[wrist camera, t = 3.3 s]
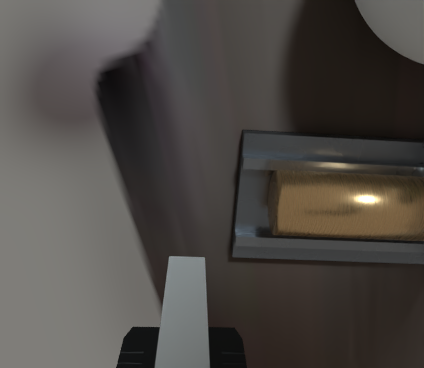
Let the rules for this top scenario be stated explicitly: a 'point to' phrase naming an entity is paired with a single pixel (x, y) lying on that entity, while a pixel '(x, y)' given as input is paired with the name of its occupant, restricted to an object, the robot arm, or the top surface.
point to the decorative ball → (397, 24)
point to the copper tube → (346, 205)
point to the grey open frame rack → (321, 162)
